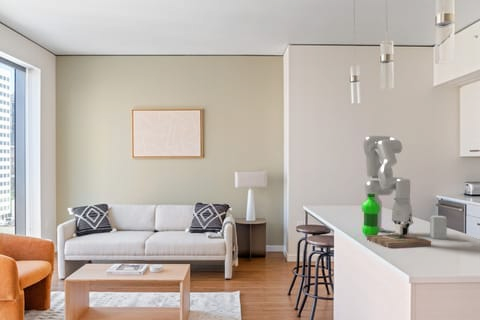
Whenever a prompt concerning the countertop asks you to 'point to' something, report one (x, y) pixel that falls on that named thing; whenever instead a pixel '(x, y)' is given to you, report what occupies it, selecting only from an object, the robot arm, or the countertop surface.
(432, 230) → the supplement box
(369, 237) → the tuner board
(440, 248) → the countertop surface
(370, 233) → the plastic bottle
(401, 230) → the white piece
